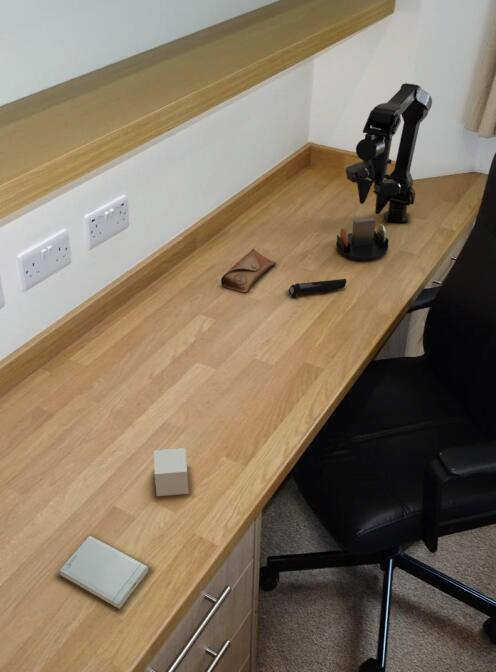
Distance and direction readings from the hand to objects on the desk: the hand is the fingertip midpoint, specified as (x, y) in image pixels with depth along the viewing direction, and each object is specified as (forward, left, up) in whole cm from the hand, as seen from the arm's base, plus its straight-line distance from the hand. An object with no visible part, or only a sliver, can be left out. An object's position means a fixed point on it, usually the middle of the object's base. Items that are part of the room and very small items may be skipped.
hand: (369, 208), depth 199 cm
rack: (-1, -1, -14) cm, 14 cm away
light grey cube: (+94, -37, -14) cm, 102 cm away
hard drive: (+115, -44, -14) cm, 124 cm away
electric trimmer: (+23, -13, -14) cm, 30 cm away
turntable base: (-1, -1, -14) cm, 14 cm away
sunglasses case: (+17, -32, -14) cm, 39 cm away
